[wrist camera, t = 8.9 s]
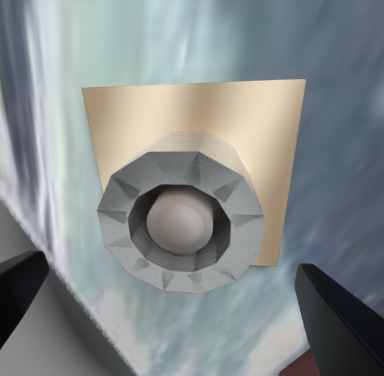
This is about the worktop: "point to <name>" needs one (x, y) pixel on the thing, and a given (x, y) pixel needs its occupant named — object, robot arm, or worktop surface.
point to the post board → (215, 124)
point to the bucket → (302, 366)
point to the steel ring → (200, 178)
